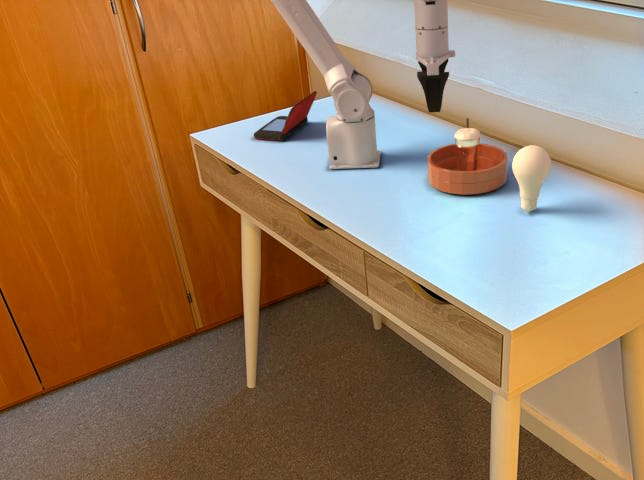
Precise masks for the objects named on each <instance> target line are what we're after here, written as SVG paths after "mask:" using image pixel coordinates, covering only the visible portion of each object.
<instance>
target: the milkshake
mask: <svg viewBox="0 0 644 480" xmlns="http://www.w3.org/2000/svg"><path fill="white" fill-rule="evenodd" d="M465 123H466V124H465V126H466V127H464V128H460V129H458V130H457V131H456V132H455V133H454V144H455V147H456V156H457V169H458V171H477V160H478V151H479V144H480V143H481V131H479V129H477V128H474V127H470V118H469V117H466V120H465Z"/></svg>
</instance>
